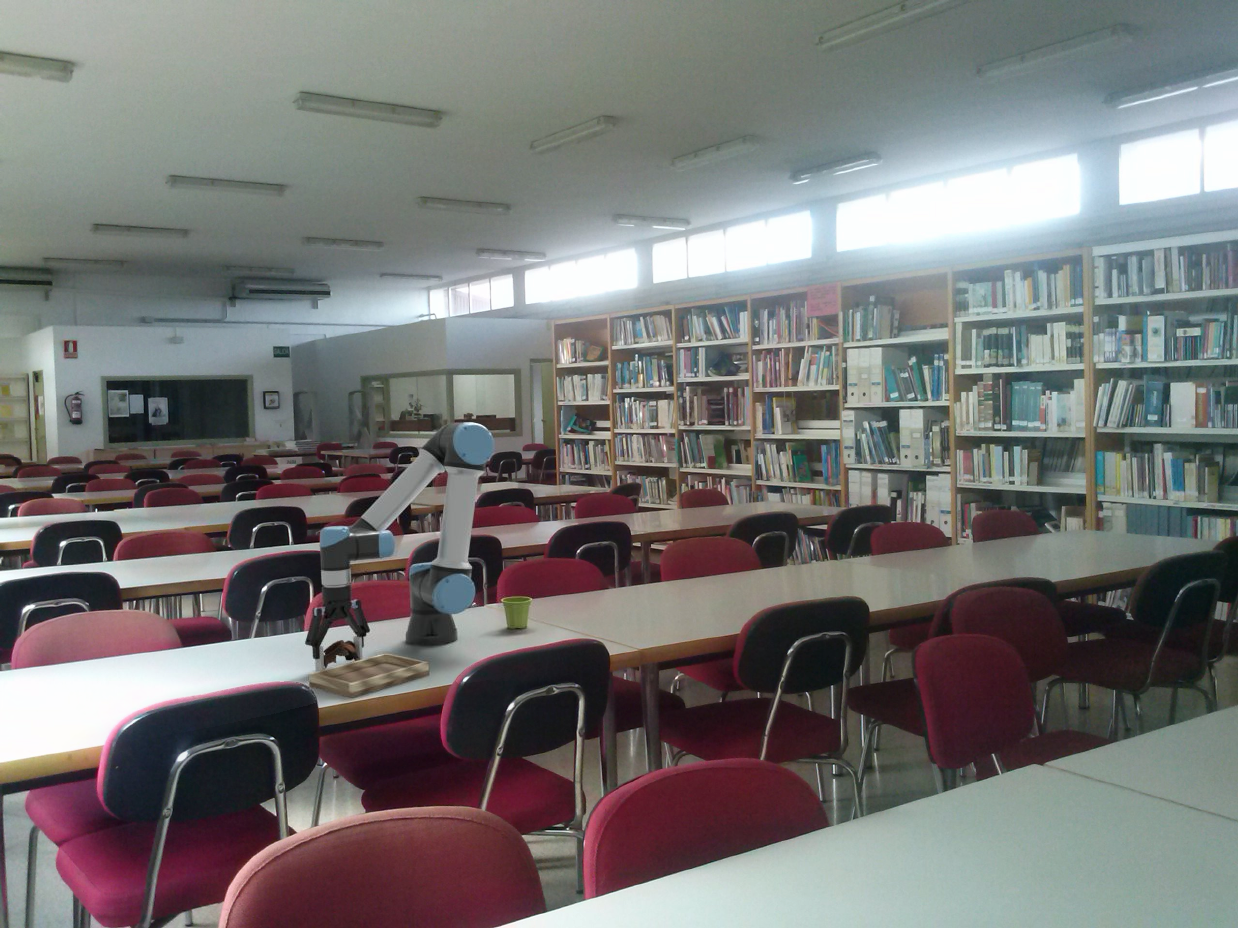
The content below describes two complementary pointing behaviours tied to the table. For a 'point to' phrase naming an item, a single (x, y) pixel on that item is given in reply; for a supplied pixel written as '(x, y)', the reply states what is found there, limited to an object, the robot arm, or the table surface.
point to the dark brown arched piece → (340, 652)
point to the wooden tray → (368, 674)
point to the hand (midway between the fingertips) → (339, 665)
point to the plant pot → (516, 611)
